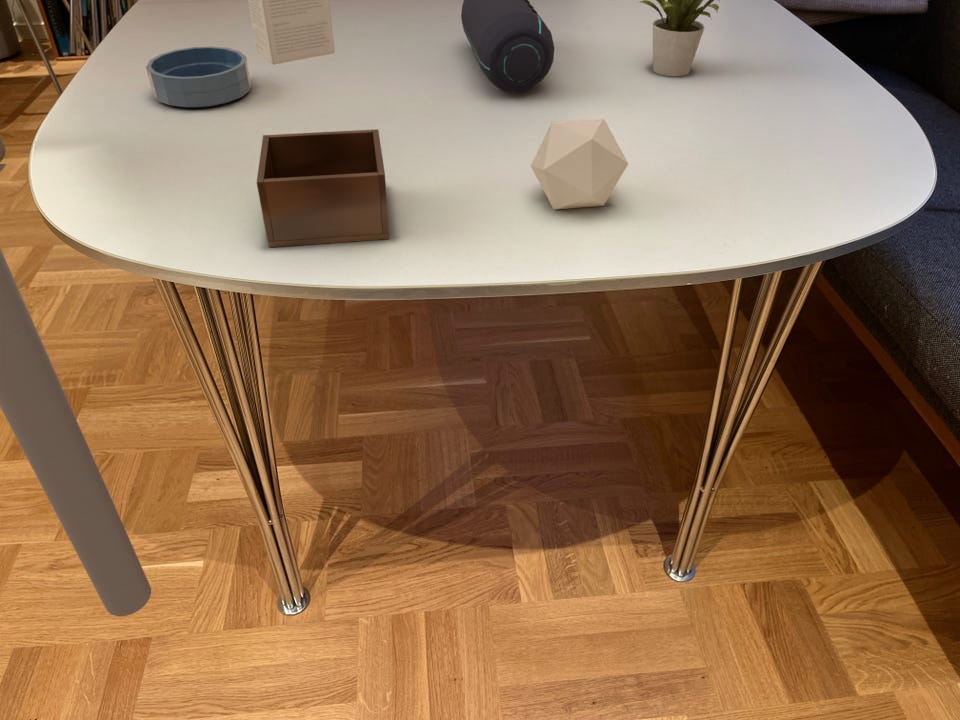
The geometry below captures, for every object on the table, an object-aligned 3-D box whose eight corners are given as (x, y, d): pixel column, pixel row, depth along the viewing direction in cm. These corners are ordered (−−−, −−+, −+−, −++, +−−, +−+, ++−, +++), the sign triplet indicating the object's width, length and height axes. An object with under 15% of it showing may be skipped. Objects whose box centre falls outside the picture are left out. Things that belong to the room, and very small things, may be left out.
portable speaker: (558, 100, 101) (564, 19, 94) (482, 103, 99) (484, 22, 93) (520, 40, 120) (524, -30, 113) (457, 43, 118) (457, -28, 112)
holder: (268, 247, 71) (256, 182, 67) (273, 196, 79) (262, 134, 75) (389, 239, 73) (385, 174, 68) (382, 189, 80) (378, 129, 76)
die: (606, 185, 83) (558, 105, 80) (658, 176, 75) (607, 87, 72) (552, 232, 81) (500, 153, 78) (599, 229, 73) (544, 140, 70)
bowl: (147, 112, 96) (138, 80, 93) (162, 78, 105) (155, 48, 102) (247, 107, 97) (242, 75, 95) (254, 74, 107) (248, 44, 104)
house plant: (749, 73, 110) (779, -55, 99) (696, 97, 102) (722, -39, 92) (666, 49, 117) (686, -72, 107) (610, 70, 110) (626, -58, 99)
